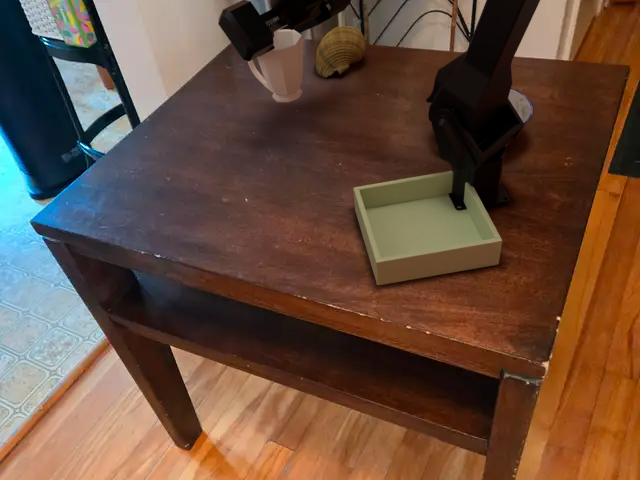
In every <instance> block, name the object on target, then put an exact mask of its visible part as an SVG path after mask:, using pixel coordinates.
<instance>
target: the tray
mask: <svg viewBox="0 0 640 480" xmlns="http://www.w3.org/2000/svg"><path fill="white" fill-rule="evenodd" d="M452 182H453V172H452V170H447V171H441V172H436V173H430V174H424V175H418V176H412V177H406V178H400V179H394V180H389V181H388V180H387V181H383V182H378V183H372V184H366V185H359V186H354V187H353V199H354V201H353V202H354V212H355V215H356V218H357V221H358V225H359V228H360V232H361V235H362V239H363V242H364V245H365V249H366V252H367V256H368V258H369V262H370V265H371V268H372V272H373V276H374V279H375V283H376V286H383V285H389V284H393V283H400V282H406V281H412V280H417V279H424V278H429V277H434V276H441V275H446V274H447V275H448V274H451V273H457V272H463V271H469V270H474V269H480V268H481V269H482V268H486V267H490V266H491V267H492V266H497V265H498V266H499V264H500V258H501V253H502V252H501V251H502V247H503V246H502V245H503V239H502V236H500V233H499V231H498V230H497V228H496V226H495V223H494V222H493V221H492V219H491V216H490V214H489V213H488V211H487V209H486V207H484V206H483V204H482V202H481V200H480V198H479V196H478V194H477V193H476V191H475V189H474V187H471V186H470V184H469V183H467V182H465V193H464V203H465V205H466V207H467V209H466V210H456V209H455V207H454V205H453V203H452V201H451V199H450V197H449V195H448V193H452ZM458 208H461V207H460V206H458Z"/></svg>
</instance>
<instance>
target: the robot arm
mask: <svg viewBox="0 0 640 480" xmlns="http://www.w3.org/2000/svg"><path fill="white" fill-rule="evenodd" d="M351 2H352V0H269V2H268V5H269V6H270V8H271V9H269V10H267V11H265V12H263V13H261V14H260V12H259V11H258V10H257V8H256V7H255V6H254V4H253V2H252V1H251V0H240V1H238V2H236V3H233V4H232V5H229V6H227V7H224V8H223V9H222V11H221V13H220V15H219V17H218V21H217V22H218V23H217V24H218V26H219V27H220V29H221V30H222V32H223V33H224V34H225V36H226V38H227V39H228V40H229V42H230V43H231V45H232V46H233V48H234V49H235V50H236V52H237V53H238V55H239V56H240V57H241V59H242V60H243V61H246V62H248V61H251V60H253V61H254V60H255V59H257V57H259V56H262V55H264V54H266V53H267V52H269V51H271V50H273V49H275V47H274V45H273V44H274V40H273V38H274V32H276V31H278V30H289V29H291V31H292V30H295V31H297V32H298V33H300V34H302V33H303V32H305V31H308V30H310V29H313V28H314V27H317V26H319V25H321V24H323V23H325V22H326V21H328V20H330V19H331V18H332V17H334V16H336V15H338V14H340V13H341V12H344V11H345V10H346V9H347V8H348V7H349V5H350V4H351ZM540 2H541V0H485V3H484V5H483V8H482V11H481V14H480V16H479V18H478V21H477V24H476V26H475V29H474V31H473V34H472V37H471V39H470V42H469V44H468V47H467V50H466V51H464V52H462V53H461V54H459V55H457V57H454V59H452V60H451V61H449V62H447V63H446V64H444V65H443V66H441V67H440V68H438V69H437V72H436V74H435V77H434V83H433V88H432V91H431V93H430V95H429V96H428V97H427V98H426V99H425V101H426V103H430V104H429V107H428V110H429V112H428V111H427V114H428V115H427V117H428V120H429V122H430V123H431V126H432V130H433V135H434V138H435V142H436V145H437V150H438V153H439V157H440V159H441V160H443V161H445V162H448V163H449V164H450V166H451V167H450V168H451V171H452V172H453V182H452V193H448V195H449V197H450V199H451V201H452V203H453V205H454V207H455V209H456V210H466V209H467V207H466V205H465V203H464V193H465V182H467V183H469V184H470V186H471V187H474V189H475V191H476V193H477V194H478V196H479V198H480V200H481V202H482V204H483V206H484V207H485V208H491V207H497V206H503V205H507V204H509V203H510V199H511V198H510V196H509V195H508V193H507V191H506V190H505V188H504V186H503V184H502V183H501V182H502V176H503V175H502V174H503V168H504V161H505V154H506V147H507V146H508V145H509V144H510V143H511V142H512V141H514V140H516V139H517V138H518V137H519V136H520V134H521V132H522V131H523V129H524V128H525V126H524V122H523V121H522V119H521V118H520V116H519V115H518V113H517V111H516V110H515V108H514V107H513V105H512V103H511V102H510V100H509V99H508V97H509V93H510V90H511V88H512V86H513V74H512V73H513V72H512V64H513V59H514V58H515V56H516V53H517V51H518V49H519V47H520V45H521V42H522V40H523V38H524V36H525V34H526V33H527V32H526V31H527V30H528V28H529V25H530V23H531V21H532V20H533V17H534V15H535V14H536V10H537V9H538V6H539V5H540ZM328 5H329V7H330V8H328ZM508 143H509V144H508ZM507 144H508V145H507ZM506 145H507V146H506ZM505 146H506V147H505ZM458 206H460V207H461V208H458Z"/></svg>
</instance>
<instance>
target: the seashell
mask: <svg viewBox="0 0 640 480" xmlns="http://www.w3.org/2000/svg"><path fill="white" fill-rule="evenodd" d="M366 45H367V44H366V39H365V36H364V34H363V33H362V32H361V31H360V30H359V29H358V28H356V27H354V26H350V25H340V26H336V27H334V28H332V29H331V30H330V31H328V32H327V33H326V34H325V35H324V36H323V37H322V39H321V41H320V42H319V44H318V46H317V48H316V49H317V50H316V55H315V68H316V73H317V75H319V76H320V77H322V78H325V79H327V78H328V77H330V76H332V75H333V74H334V73H335V72H338V74H339V75H342V74H343V73H344V72H346V71H348V69H349V68H350V64H357V63H358V62H360V61H361V60H362V59H363V58H364V55H365V52H366V49H367V46H366Z"/></svg>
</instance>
